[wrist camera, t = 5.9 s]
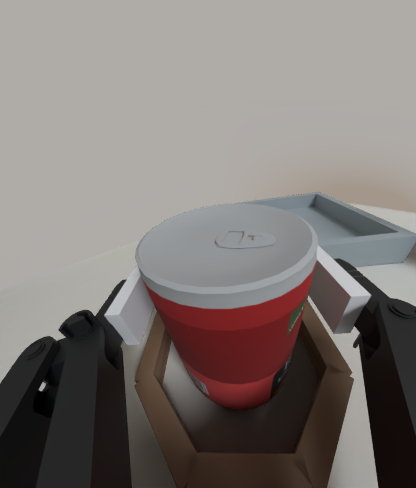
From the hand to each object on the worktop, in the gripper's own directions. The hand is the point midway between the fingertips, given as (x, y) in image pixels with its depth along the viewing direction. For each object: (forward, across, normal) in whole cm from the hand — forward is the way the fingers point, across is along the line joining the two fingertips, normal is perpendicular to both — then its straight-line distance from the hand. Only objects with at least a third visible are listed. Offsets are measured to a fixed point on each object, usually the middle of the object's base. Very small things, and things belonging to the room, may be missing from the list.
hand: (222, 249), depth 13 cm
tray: (+13, +11, -7) cm, 18 cm away
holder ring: (-4, 0, -7) cm, 8 cm away
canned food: (-4, 0, -7) cm, 8 cm away
